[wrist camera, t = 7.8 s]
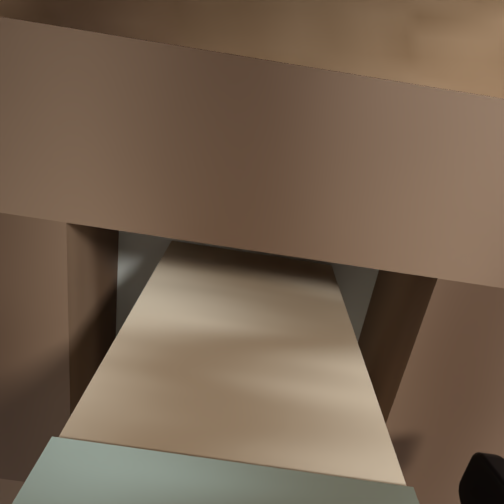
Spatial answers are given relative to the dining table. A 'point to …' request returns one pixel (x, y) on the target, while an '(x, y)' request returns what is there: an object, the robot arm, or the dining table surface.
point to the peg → (227, 396)
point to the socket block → (248, 223)
